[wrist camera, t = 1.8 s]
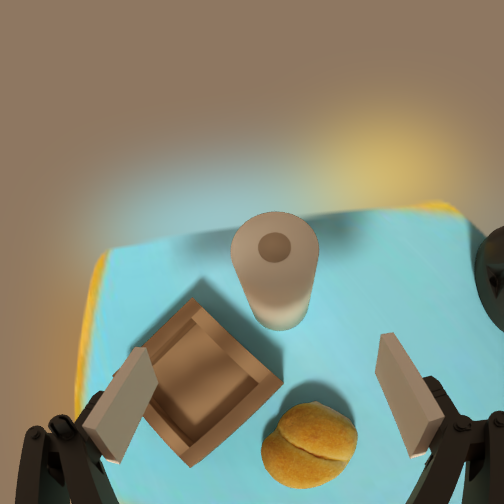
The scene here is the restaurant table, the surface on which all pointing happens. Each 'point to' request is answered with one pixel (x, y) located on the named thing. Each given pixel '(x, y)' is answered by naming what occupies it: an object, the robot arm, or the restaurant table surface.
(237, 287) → the restaurant table surface
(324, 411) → the bread roll
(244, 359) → the tray
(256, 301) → the paper roll
